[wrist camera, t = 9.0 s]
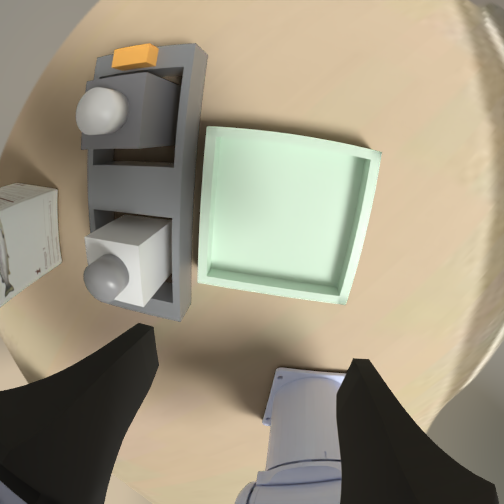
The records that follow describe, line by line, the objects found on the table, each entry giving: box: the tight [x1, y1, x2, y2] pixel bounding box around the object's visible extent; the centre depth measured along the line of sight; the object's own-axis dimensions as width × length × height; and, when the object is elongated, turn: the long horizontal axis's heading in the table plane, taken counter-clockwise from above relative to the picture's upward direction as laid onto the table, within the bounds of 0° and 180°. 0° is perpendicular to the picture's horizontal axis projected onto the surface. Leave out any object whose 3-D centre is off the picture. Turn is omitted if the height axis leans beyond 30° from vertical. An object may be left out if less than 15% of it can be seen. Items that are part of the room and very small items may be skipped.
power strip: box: [87, 43, 208, 322], centre depth 16 cm, size 18×7×4 cm, turn 174°
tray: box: [198, 126, 382, 305], centre depth 17 cm, size 10×10×2 cm
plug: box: [76, 72, 181, 150], centre depth 13 cm, size 4×4×6 cm
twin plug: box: [84, 215, 172, 307], centre depth 17 cm, size 4×4×6 cm
